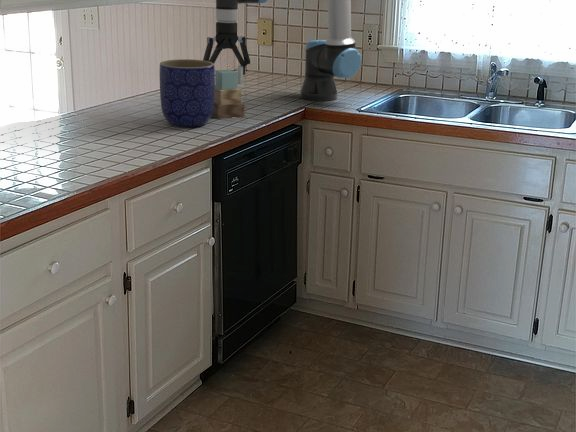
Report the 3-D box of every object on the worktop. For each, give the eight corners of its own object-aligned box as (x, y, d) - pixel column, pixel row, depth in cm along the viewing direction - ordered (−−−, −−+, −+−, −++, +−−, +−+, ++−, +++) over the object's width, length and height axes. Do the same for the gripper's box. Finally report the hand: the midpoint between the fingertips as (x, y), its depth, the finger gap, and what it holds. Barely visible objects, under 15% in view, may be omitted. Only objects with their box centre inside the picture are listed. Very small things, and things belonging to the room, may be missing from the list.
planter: (200, 132, 267) (199, 69, 260) (150, 126, 273) (149, 64, 266) (223, 121, 284) (223, 61, 277) (176, 115, 289) (175, 57, 283)
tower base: (232, 112, 300) (232, 98, 298) (243, 117, 292) (244, 103, 290) (207, 114, 296) (207, 100, 294) (218, 119, 287) (218, 105, 286)
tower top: (230, 99, 297) (230, 85, 295) (240, 103, 291) (241, 89, 289) (210, 100, 293) (210, 87, 292) (220, 105, 287) (220, 91, 285)
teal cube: (230, 86, 295) (230, 69, 293) (237, 89, 290) (237, 72, 288) (215, 87, 292) (215, 70, 290) (222, 89, 287) (222, 72, 285)
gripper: (252, 19, 291) (251, 81, 298) (192, 20, 281) (192, 84, 288) (260, 21, 285) (259, 85, 292) (199, 23, 275) (200, 88, 282)
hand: (226, 85), depth 290 cm, fingers open, 10 cm apart
